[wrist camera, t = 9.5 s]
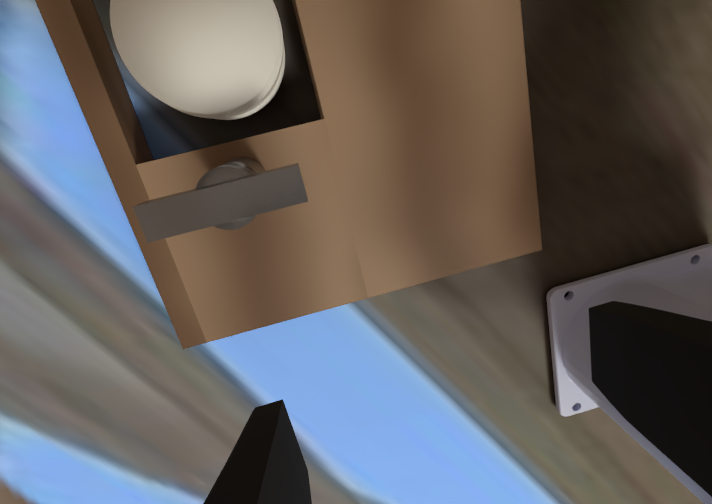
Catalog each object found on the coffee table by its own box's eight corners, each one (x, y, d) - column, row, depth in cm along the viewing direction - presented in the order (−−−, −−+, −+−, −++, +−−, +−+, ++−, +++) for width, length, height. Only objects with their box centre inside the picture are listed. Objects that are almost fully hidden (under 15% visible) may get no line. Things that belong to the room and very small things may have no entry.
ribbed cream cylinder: (265, -22, 15) (251, -89, 11) (300, 104, 17) (301, 95, 12) (143, 7, 15) (73, -48, 10) (190, 133, 16) (147, 135, 12)
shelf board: (482, -106, 15) (508, -138, 14) (518, 238, 20) (542, 249, 18) (56, -15, 14) (19, -37, 13) (194, 326, 19) (183, 349, 17)
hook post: (294, 143, 15) (294, 150, 11) (307, 190, 16) (312, 215, 11) (177, 172, 15) (126, 191, 10) (195, 218, 15) (153, 256, 11)
